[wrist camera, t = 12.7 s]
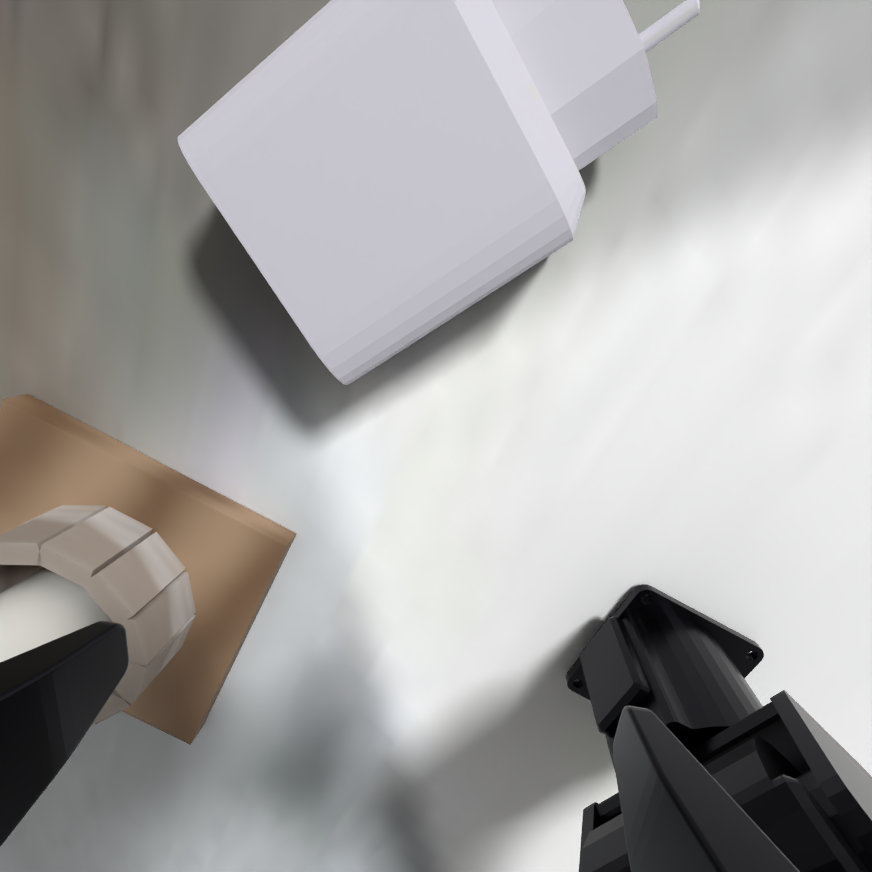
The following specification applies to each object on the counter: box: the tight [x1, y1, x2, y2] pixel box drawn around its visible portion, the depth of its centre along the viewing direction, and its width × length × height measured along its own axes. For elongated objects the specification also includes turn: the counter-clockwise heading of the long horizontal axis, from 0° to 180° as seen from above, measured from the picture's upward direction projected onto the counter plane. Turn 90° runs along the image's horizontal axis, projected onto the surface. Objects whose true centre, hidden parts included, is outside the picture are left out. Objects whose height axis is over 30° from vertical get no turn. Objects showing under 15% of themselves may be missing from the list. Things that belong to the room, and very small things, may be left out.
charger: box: [178, 0, 700, 385], centre depth 15 cm, size 5×9×15 cm
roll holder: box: [0, 394, 296, 744], centre depth 22 cm, size 14×14×5 cm
